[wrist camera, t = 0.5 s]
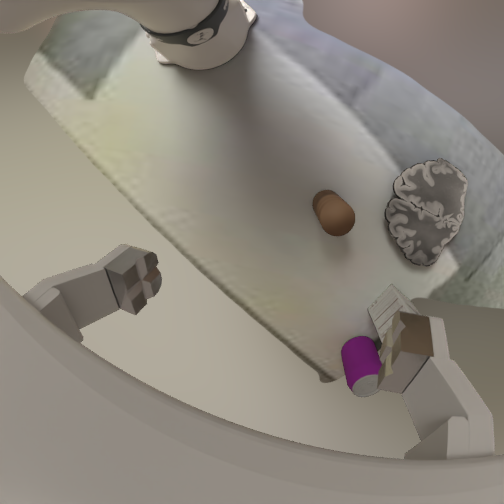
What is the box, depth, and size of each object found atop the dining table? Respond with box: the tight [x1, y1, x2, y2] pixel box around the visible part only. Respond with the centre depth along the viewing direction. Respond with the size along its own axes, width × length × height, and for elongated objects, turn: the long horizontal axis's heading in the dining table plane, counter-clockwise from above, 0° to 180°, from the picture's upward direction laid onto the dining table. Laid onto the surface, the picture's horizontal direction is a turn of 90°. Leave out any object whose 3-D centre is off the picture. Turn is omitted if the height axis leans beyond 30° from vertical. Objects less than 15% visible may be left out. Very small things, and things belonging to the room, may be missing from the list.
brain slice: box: [385, 158, 468, 266], centre depth 42 cm, size 20×17×3 cm
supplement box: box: [368, 284, 420, 343], centre depth 44 cm, size 7×7×13 cm
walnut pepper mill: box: [313, 190, 355, 236], centre depth 40 cm, size 5×5×10 cm
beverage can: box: [341, 336, 382, 397], centre depth 49 cm, size 8×8×12 cm
